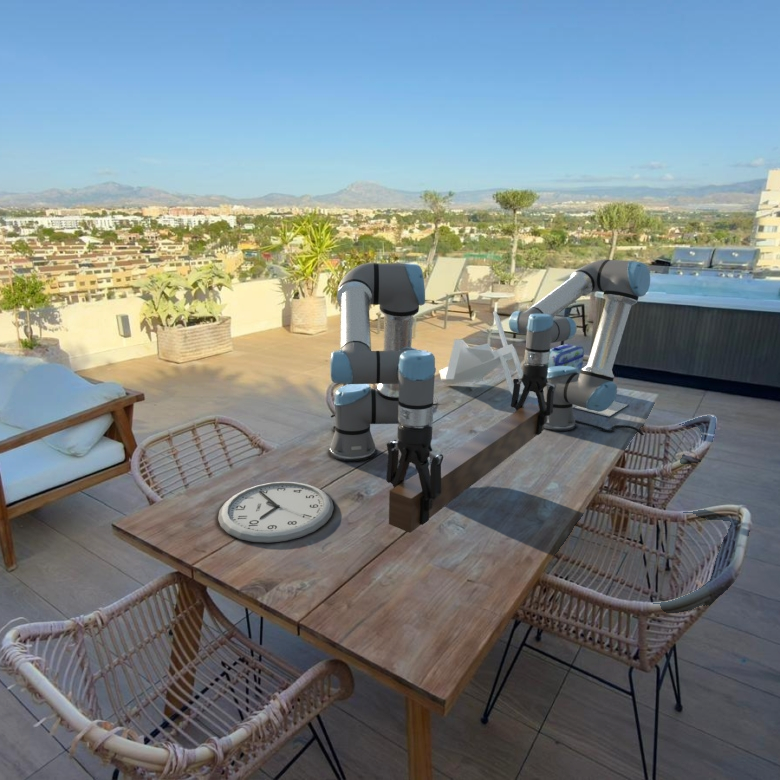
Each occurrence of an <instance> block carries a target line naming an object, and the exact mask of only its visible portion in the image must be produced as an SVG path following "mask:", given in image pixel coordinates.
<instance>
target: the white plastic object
mask: <svg viewBox="0 0 780 780" xmlns="http://www.w3.org/2000/svg"><path fill="white" fill-rule="evenodd" d="M492 315H493V319H494V321H495V324H496V325H495V326H496V328H497V332H498V335H499V338H500V342H501V345H502V347H500V348H498V349H496V350H495V349H493V348H492V347H491V346H490V344H489V343H488V342H487V343H483V344H479V345H473V346H469V345H468V343H466V342H465V340H464V339H463V338H460V339H458V338H454V340H453V344H452V349H451V353H450V357H449V362H448V366H446V367H444V368H442V369H440V370H439V371H438V372H439V376H440V381H442V383H443V384H444V385H445V386H449V385H458V384H467V383H468V384H469V383H473V384H477V383H480V382H482V381H484V378H485V377H486V376H487V375H489V374H490V373H492V372H494V371H495V370H496V369H497V368H499V367H500V366H502V370H503V373H504V376H505V380H506V383H507V386H508V390H509V393H510V394H511V396H512V395H513V389H514V383H513V378H512V375H511V371H510V369H509V365H508V361H510V360H513V363H514V366H515V369H516V372H517V376H518V377H519V378H522V376H523V367H522V366H521V362H520V359H519V355H518V352H517V349H516V347H515V346H514V345H513V343H511V344H508V341H507V337H506V334H505V331H504V328H503V325H502V321H501V318H500V315H499V314H498V312H497V311H496V310H495V311H492ZM520 387H521V389H522V390H523V389H524V387H525V386H524V385H523V383H522V382H521V384H520ZM528 396H531V395H530V392H529V393H528ZM528 396H527V397H528Z"/></svg>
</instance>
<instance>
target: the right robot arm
mask: <svg viewBox="0 0 780 780" xmlns="http://www.w3.org/2000/svg"><path fill="white" fill-rule="evenodd" d="M650 285H651V273H650V269H649V266H648V264H646V263H644V262H642V261H635V260H623V259H622V260H619V259H607V258H604V259H599V260H594V261H593V262H590V263H588V264H585V265H584V266H582V267H580V268H578V269H577V270H575V271H574V272H572V273H571V274H570V275H569V278H568V279H567V280H566V281H565V282H564V283H561V285H560V286H558V287H556V288H555V289H554V290H552V291H551V292H550V293H548V294H547V295H546V296H544V297H543V298H542V299H540V300H539V301H538V302H536V303H535V304H533V305H532V306H531V307H529V308H527V310H525V311H523V310H522V311H521V310H517V311H516V310H515V311H514V312H512V313H511V315H510V316H509V319H508V328H509V330H510V331H511V332H513V333H516V334H519V335H522V336H526V337H525V339H526V340H525V349H524V359H523V361H524V363H523V367H522V371H523V376H522V378H519V376H518V377H515V378H512V381H513V385H514V389H513V395H512V394H511V403H510V407H511V408H514V409H515V412H516V411H517V410H519V409H520V408H522V407H523V406H525V402H526V400H527V399H528V393H529V394H530V392H533V393H534V394H535V396H536V400H537V403H538V404H537V405H539V409H540V415H539V416H538V421H537V430H536V435H537V436H539V435H540V434H542V432H543V431H542V425H544V426H543V430H549V431H556V432H567V431H572V430H574V429H575V428H576V424H578V425H582V426H586V427H590V428H594V429H597V430H600V431H602V432H605V433H612V432H614V431H615V429H630V430H634V431H635V432H637V433H638V434H640V436H645V434H644V432H643V431H642V430H640V429H639V428H637V427H635V426H633V425H625V424H619V425H618V424H616V425H612V426H611V429H607V428H604V427H602V426H600V425H596V424H592V423H588V422H584V421H580V420H577V419H576V418H575V417H576V416H575V413H574V407H573V406H580V407H583V408H586V409H588V410H594V411H598V412H601V411H604V410H606V409H607V408H608V407H609V406H610V405H611V404H612V403H613V401H614V402H615V399H616V397H617V394H618V385H617V384H616V382H614V379H615V376H614V374H613V372H612V371H613V368H614V363H615V362H616V358H617V354H618V351H619V347H620V344H621V341H622V339H623V338H622V337H623V334H624V331H625V328H626V324H627V321H628V317H629V314H630V311H631V308H632V306H634V305H635V304H637V303H638V300H639V298H641V297H645V296H646V295H647V293H648V291H649V289H650ZM595 292H597V293H598V292H600V293H603V294H602V297H603V298H604V301H605V303H604V306H603V308H602V313H601V316H600V319H599V323H598V326H597V329H596V333H595V336H594V339H593V343H592V347H591V350H590V353H589V357H588V360H587V364H586V365H585V366H584V367H582V369H581V371H580V374H578V373H577V368H575V367H571V366H554V367H549V368H548V365H547V364H548V363H549V354H550V349H551V346H552V345H551V344H553V343H559V342H566V341H568V340H571V339H572V338H574V337H575V335H576V334H577V329H578V328H577V323H576V321H575V320H574V319H573V318H571V317H568V316H561V317H556V316H557V315H558V314H560V313H561V312H563V311H564V310H565V309H566V308H568V307H569V306H570V305H572V304H573V303H574V302H576V301H577V300H578V299H580V298H581V297H586V296H588V295H590V294H591V293H595ZM521 382H522V383H523V385H524V386H525V387H524V389H522V393H521V395H520V391H521Z"/></svg>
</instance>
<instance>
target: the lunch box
mask: <svg viewBox="0 0 780 780" xmlns="http://www.w3.org/2000/svg"><path fill="white" fill-rule="evenodd" d="M584 352H585V351H584V347H583V346H580V345H579V346H578V345H573V344H562V345H558V346H554V347H552V348H550V354H549V363H548V364H547V365H548V368H549V367H554V366H571V367H575V368H577V373H578V374H580V371H581V369H582V368H583V365H584V357H585V353H584Z"/></svg>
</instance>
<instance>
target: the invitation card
mask: <svg viewBox="0 0 780 780" xmlns="http://www.w3.org/2000/svg"><path fill="white" fill-rule="evenodd" d="M628 406H629V404H627V403H623V402H618V401H615V400H614V401H613V403H612V404H611V405H610V406H609V407H608V408H607V409H606V410H604V411H601V412H598V411H594V410H588V409H586V408H583V407H580V406H577V405H575V406H574V407H573V409H575V410H581V411H584V412H587V413H593V414H596V415H600V416H604V417H608V418H609V417H611V416H613V415H614V414H616V413H617V412H619V411H621V410H623V409H624V408H626V407H628Z"/></svg>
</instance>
